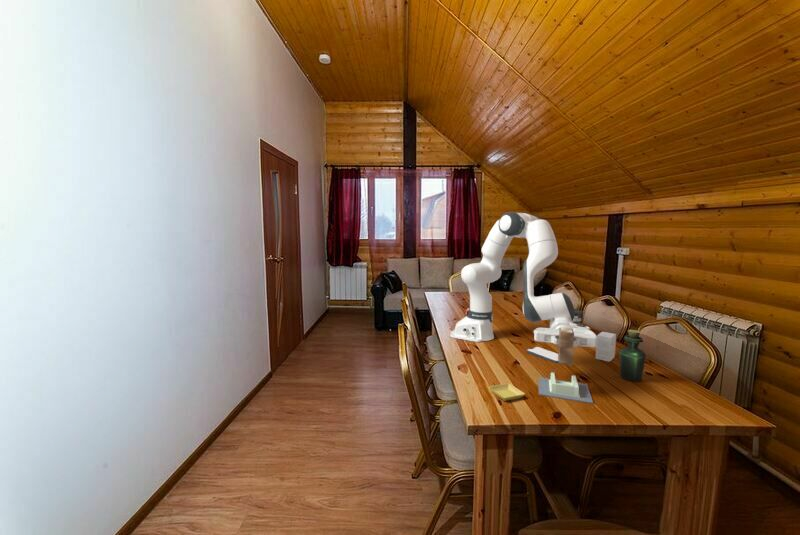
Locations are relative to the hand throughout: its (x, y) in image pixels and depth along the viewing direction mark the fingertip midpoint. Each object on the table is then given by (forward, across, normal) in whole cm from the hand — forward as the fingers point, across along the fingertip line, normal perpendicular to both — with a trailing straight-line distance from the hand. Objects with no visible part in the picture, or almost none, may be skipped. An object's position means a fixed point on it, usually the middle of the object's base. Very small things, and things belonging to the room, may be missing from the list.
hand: (566, 343), depth 113 cm
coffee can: (-69, +8, +17) cm, 71 cm away
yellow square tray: (+10, -18, +17) cm, 27 cm away
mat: (-1, 0, +17) cm, 17 cm away
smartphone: (-34, -5, +17) cm, 39 cm away
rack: (-1, 0, +16) cm, 16 cm away
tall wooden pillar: (-1, 0, +6) cm, 7 cm away
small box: (-41, +19, +17) cm, 48 cm away
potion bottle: (-21, +24, +17) cm, 36 cm away
